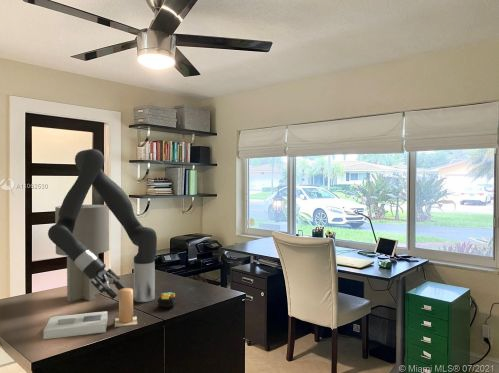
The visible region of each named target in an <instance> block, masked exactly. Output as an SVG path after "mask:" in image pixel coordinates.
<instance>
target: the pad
mask: <svg viewBox="0 0 499 373" xmlns="http://www.w3.org/2000/svg"><path fill="white" fill-rule="evenodd" d="M137 325H138V318H137V316H133V321H132V322H130V323H119V317H118V318H115V320H114V327H115V328H118V327H127V326H129V327H130V326H137Z"/></svg>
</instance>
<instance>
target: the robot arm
mask: <svg viewBox="0 0 499 373" xmlns="http://www.w3.org/2000/svg"><path fill="white" fill-rule="evenodd" d="M74 163H75V166H76V167H77V169H78V171H79V174H78V176H77V178H76V180H75V181H74V183H73V185H72V186H71V187H70V188H69V190H68V192H67V193H66V194H65V196H64V198H63V200H62V203H61V205H60V206H61V207H60V210H59V213H58V215H59V219H58V222H57V224H53V225H51V227H49V229H48V232H47V237H48V239H49V240H50V241H51V242H52V243H53V244H54V245H55V246H56V245H57V246H58V247H59V248H60V249H61V250H63V251H64V252H65V253H66V254H67V256H66V257H69V258H70V259H71V260H72V261H73V262H74V263H75V264H76V265H77V267H78V268H79V269H80V270H81V271H82V272H83V273H84V274H85V275H86V276H87V277H88V278H89V279H93V278H94V279H93V280H92V281H91V283H92V284H93V285H94V286H95V287H96V288H97V289H98V290H99V293H101V294H103V293H105V294H107V295H108V296H109V297H110V298H111V299H112V300H114V299H115V298H116V297H117V296H118V294H117V293H116V291H115V290H114V289H113V288H112V287H110V285H113V286H114V287H115V288H116V289H117V290H118V291H119V290H120V289H123V288H126V287H125V286H124V284H122V283H121V282H120V279H121V278H120V277H119V276H118V275H117V274H116V272H114V271H113V270H112V269H111V268H108V269H107V270H106V269H105V268H106V264H105V263H104V262H103V261H102V259H100V257H99V258H98V257H97V256H96V255H95V254H94V253H93V252H92V251H90V250H89V249H88V248H87V247H86V246H85V245H84V244H83V243H82V242H81V241H79V240H78V239H77V238H76V237H75V236H74V235H73V230H74V227H75V222H76V219H77V216H78V214H79V212H80V209H81V207H82V205H84V201H85V199H86V198H87V195H88V193H89V191H90V189H91V187H92V186H93V188H94V189H95V191H96V192H97V194H98V195H99V197H101V199H102V201H103V202H104V205H107V206H108V208H109V211H111V213H112V215H113V216H114V217H115V218H116V220H117V221H118V222H119V224H121V226H122V227H123V229H124V230H125V233H126V235H127V236H128V238H129V239H130V242H131V243H132V244H133V245H135V246H136V247H138V248H137V254H135V255H134V257H133V302H137V303H147V302H152V301H154V300H155V298H156V297H155V296H156V292H155V291H156V290H155V289H156V288H155V287H156V283H155V282H156V281H155V280H156V271H155V266H156V264H155V263H156V262H155V261H156V260H155V259H156V257H157V249H158V248H157V246H158V245H157V243H158V235H157V233H156V231H155V230H154V228H151V227H147V226H146V227H145V226H144V225H142V223H141V222H140V221H139V219H138V218H137V217H136V215H135V212H134V208H133V204H132V202H131V200H130V198H129V197H128V195H127V194H126V193H125V191H124V189H123V188H122V187H121V186H119V185H118V184H117V183H116V182H115V181H113V179H111V178H110V177H109V176H108V175H107V174H106V172H104V170H103V166H104V163H105V156H104V155H103V153H102V152H101V151H100V150H99V149H97V148H88V149H83V150H81V151H79V152H77V153H76V155H75V156H74Z"/></svg>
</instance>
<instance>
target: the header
mask: <svg viewBox="0 0 499 373" xmlns="http://www.w3.org/2000/svg"><path fill="white" fill-rule="evenodd" d="M107 324H108V311H105V310H104V311H96V312H88V313H87V312H85V313H77V314H69V315H68V314H67V315H57V316H51V317H50V318H49V320H48V322H47V324H46V326H45V327H44V328H43V340H49V339H59V338H66V337H74V336H83V335H84V336H85V335H94V334H101V333H106V332H107Z"/></svg>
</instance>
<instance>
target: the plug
mask: <svg viewBox="0 0 499 373" xmlns="http://www.w3.org/2000/svg"><path fill="white" fill-rule="evenodd" d="M133 317H134V288H131V287H125V288H123V289H120V290H118V318H119V323H130V322H132V321H133Z"/></svg>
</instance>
